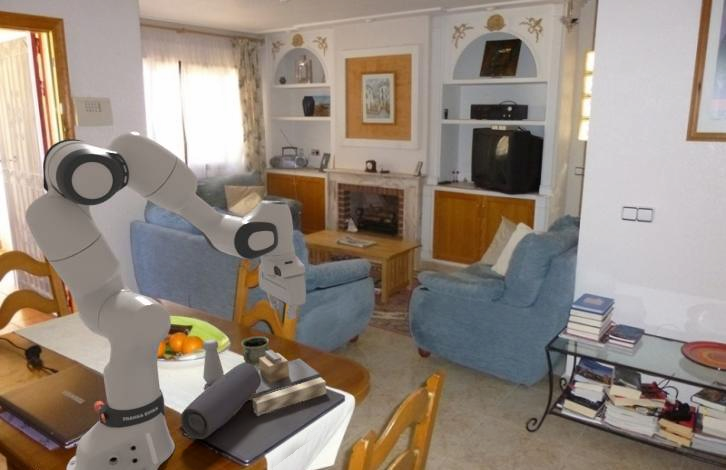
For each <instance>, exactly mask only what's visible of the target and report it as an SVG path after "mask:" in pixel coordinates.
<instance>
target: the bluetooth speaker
mask: <svg viewBox="0 0 726 470" xmlns="http://www.w3.org/2000/svg"><path fill="white" fill-rule="evenodd" d="M260 383H261V377H260V375H259V373H258V370H257V368H256V367H255V365H251V364H248V363H246V362H242V363H240V364H238V365H235V366H234V367H233V368H231V369H230V370H229V371H227V372H226V373H224V375H223V376H222V377H221V378H219V379H218V380H217V381H215V382H214V383H213V384H212V385H208V387H207V388H206V389H204V391H202V392H201V393H200V394H199V395H197V397H196V398H195V399H194V400H193V401H191V402H190V403H189V404H188V405H187V406H186V407H185V409H183V411H182V412H181V415H180V424H181V426H182V429H183V431H184V432H185V433H186V434H187V435H188V436H189V437H191V438H194V439H197V440H203V439H206V438H207V437H209V436H210V435H211V434H213V433H214V432H215V431H216V430H218V429H217V428H219V427H221V426H222V427H224V426H225V425H226V424H227V423H228V422H229V421H230V420H232V418H233V417H234V416H235V415H236V414H237V413H238V412H239V411H240V410H241V409H242V407H243V406H244V405H245V404H246V403H247V402H248V399H249V398H250V397H251V396H252V395H253V394H254V392H255V391H256V390H257V389H258V387H259V386H260ZM239 409H240V410H239ZM238 410H239V411H238ZM237 411H238V412H237ZM236 412H237V413H236ZM235 413H236V414H235ZM234 414H235V415H234ZM233 415H234V416H233ZM232 416H233V417H232ZM231 417H232V418H231ZM228 420H229V421H228ZM226 422H227V423H226ZM225 423H226V424H225ZM224 424H225V425H224ZM223 425H224V426H223ZM222 427H221V428H222ZM219 429H220V428H219Z"/></svg>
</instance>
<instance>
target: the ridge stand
mask: <svg viewBox="0 0 726 470" xmlns="http://www.w3.org/2000/svg"><path fill="white" fill-rule="evenodd" d="M259 363H260V364H259V370H257V371H258V373H259V375H260V377H261V383H260V386H259V387H258V389H257V390H256V393H255V394H257V393H262V392H266V391H271V390H275V389H278V388H281V387H285V386H289V385H294V384H298V383H304V382H307V381H310V380H313V379H316V378H319V377H321V376H320V373H319V372H318V371H317V370H316V369H315V368H313V367H311V366H310V365H309V364H307V363H306V362H305V361H303V360H302V359H301V358H296V359H293V360H288V359H286V358H285V357H284V356H283V355H281V354H280V353H279V352H275V351H274V350H273V349H270V350H268V351H265V356H264V357H261V358H259Z"/></svg>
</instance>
